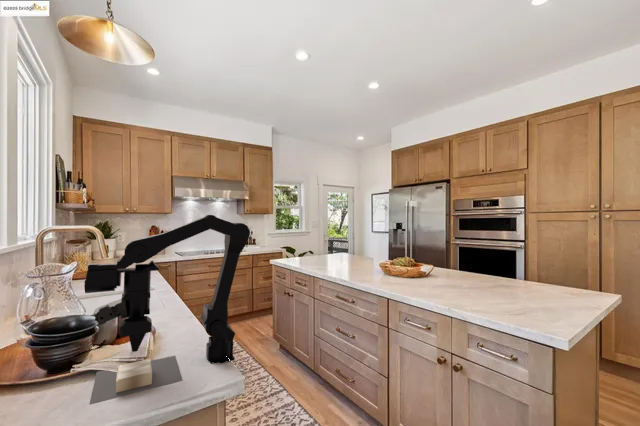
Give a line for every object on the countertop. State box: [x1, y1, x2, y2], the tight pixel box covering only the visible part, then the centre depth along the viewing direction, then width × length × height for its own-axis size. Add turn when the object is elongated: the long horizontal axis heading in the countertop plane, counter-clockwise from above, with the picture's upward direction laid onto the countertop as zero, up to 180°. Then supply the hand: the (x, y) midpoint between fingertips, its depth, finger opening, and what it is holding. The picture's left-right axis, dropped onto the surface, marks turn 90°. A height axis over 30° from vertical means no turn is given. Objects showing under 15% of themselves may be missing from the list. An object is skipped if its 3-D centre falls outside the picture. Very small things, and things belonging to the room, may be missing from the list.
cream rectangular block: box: [116, 358, 152, 393], centre depth 71 cm, size 7×3×8 cm
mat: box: [89, 355, 183, 405], centre depth 73 cm, size 18×15×1 cm
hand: (134, 351), depth 73 cm, fingers closed
